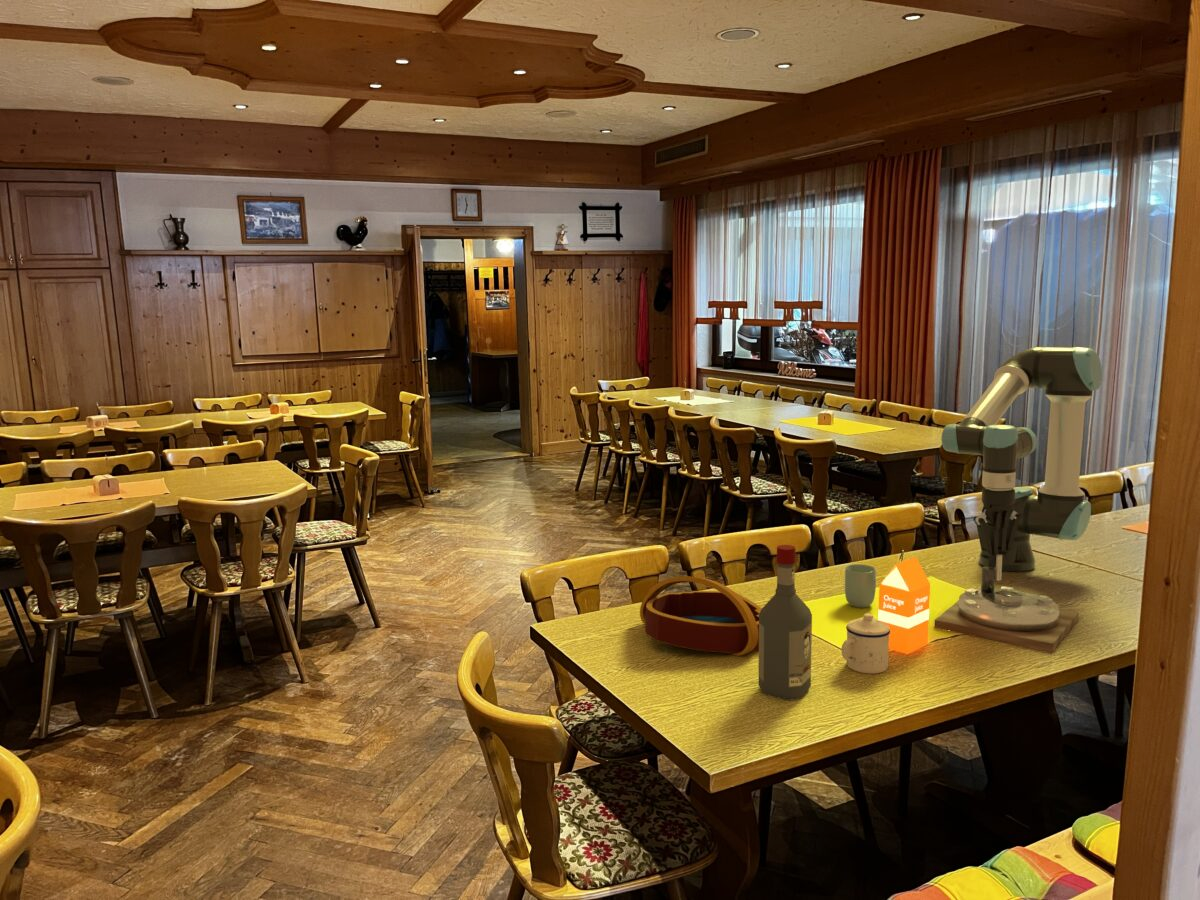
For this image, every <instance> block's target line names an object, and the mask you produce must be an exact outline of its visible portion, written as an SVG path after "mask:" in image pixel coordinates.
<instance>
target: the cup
mask: <svg viewBox="0 0 1200 900" xmlns="http://www.w3.org/2000/svg"><path fill="white" fill-rule="evenodd" d="M876 589H877V569H876V567H874V566H871V565H868V564H867V565H866V564H858V563H855V564H854V563H853V564H848V565H846V566H845V568H844V596H845V600H846V602H847V603H848V604H849V606H851V607H855V608H860V609H861V608H862V609H863V608H864V609H865V608H868V607H870V606H871V605H872V604H873V602H874V601H875V595H876Z"/></svg>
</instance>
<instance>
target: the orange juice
mask: <svg viewBox="0 0 1200 900" xmlns="http://www.w3.org/2000/svg"><path fill="white" fill-rule="evenodd" d="M878 586H879V587H878V588H879V590H878V591H879V593H878V611H877V613H878V615H877V617H878V618H877V620H878V621H881V622H884V623H885V624H887V625H888V626H889V628H890V633H889V649H890V650H893V651H896V652H899V653H903V654H906V655H909V654H911V653H913V652H916V651H917V650H919V649H922V648H923V647H925V646H927V645H929V644H928V643H929V622H930V621H929V619H930V598H931V597H930V595H931V594H930V592H931V583H930V581H929V579H928V577H927V575H926V573H925V571H924V569H923V568H922V566H921V564H920V563H919V561H918V559H917V557H916V556H914V557H911V558H908V559H905V560H903V561H901V562H898V563H895V564H894V566H893V567H892V568H891V570H890V571H889V572H888V574H887V575H886V576H885V577H884V579H883V580H882V581H881V582H880V584H878Z"/></svg>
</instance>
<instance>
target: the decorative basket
mask: <svg viewBox="0 0 1200 900" xmlns="http://www.w3.org/2000/svg"><path fill="white" fill-rule="evenodd" d="M680 583H696V584H701V585H705V586H707V587H710V588H712V589H715V590H712V591H711V590H692V591H680V592H666V593H663V594H661V593H662V592H663V591H665V590H667V589H668V588H670V587H671V586H674V585H677V584H680ZM762 608H763V607H761V606H759V605H758V604H756V603H754V602H753V601H752V600H750V599H748V598H746V597H745V596H743V595H742V594H740V593H737V592H735V591H734V590H733V589H731V588H729V587H728V586H726V585H724V584H722V583H720V582H718V581H715V580H712V579H708V578H705V577H697V576H689V575H688V576H687V575H686V576H685V575H684V576H683V575H682V576H681V575H680V576H675V577H669V578H666V579H663V580H662V581H659V582H658V583H655V584H654V585H653V586H652V587H651V588H650V589H649V590H648V591H647V593H646V594H645V596H644V597H643V600H642V602H641V604H640V607H639V617H640V620H641V622H642V623H643V625H645V630H644V632H645V633H646V634H647V636H648V637H650V638H651V639H652V640H656V641H658V642H660V643H663V644H668V645H672V646H675V647H679V648H684V649H690V650H695V651H702V652H713V653H714V652H715V653H728V654H730V655H733V656H738V657H741V656H743V655H746V654H748V653H750V652H751V653H752V652H755V651H759V614H760V611H761V609H762Z"/></svg>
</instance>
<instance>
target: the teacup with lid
mask: <svg viewBox="0 0 1200 900" xmlns="http://www.w3.org/2000/svg"><path fill="white" fill-rule="evenodd" d="M845 629H846V635H847V636H846V640H844V641H843V642H842V644H841V649H840V650H841V655H842V658H843V659H844V660H845V661H846V666H847V667H848V668H850V669H851V670H852V671H855V672H857V673H862V674H869V675H870V674H871V675H872V674H882V673H884V672H886V671H887V670H888V668H889V653H890V651H889V633H890V628H889V626H888V625H887V624H885V623H884V622H881V621H878V618H874V615H873V614H872V613H864V614H863V617H861V618H860V617H859V618H857V619H853V620H850V621H849V622H848V623H847V624H846V627H845Z"/></svg>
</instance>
